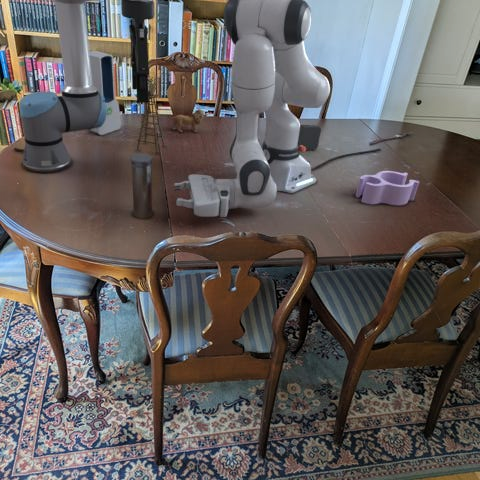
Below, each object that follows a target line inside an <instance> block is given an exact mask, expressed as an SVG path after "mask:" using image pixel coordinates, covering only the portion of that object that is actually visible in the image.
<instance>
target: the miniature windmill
mask: <svg viewBox="0 0 480 480" xmlns="http://www.w3.org/2000/svg"><path fill="white" fill-rule="evenodd" d="M153 70H154V72H155V73H153V74H152V70H151V71H150V70H149V75H148V103H145V107H144V112H143V114H142V121H141V126H140V131H139V133H138V139H137V147H136V151H139V149H140V144H141V143H144V144H147V143H148V144H152V145H155V154H158V153H159V150H158V144H159V143H160V142H161V143H162V147H165V146H166V144H165V141H164V138H165V136H163V132H162V127H161V125H162V124H161V122H160V117H159V112H158V108H157V104H156V103H157V101H156V98H157V97H159V96H160V94H158V93H156V90H157V87H158V84H157V83H158V82H159V81H158V77H157V76H158V70H157V68H155V67H153ZM150 106H151V111H150ZM154 110H155V111H154ZM150 114H151V115H150ZM149 117H150V118H152V122H150V121H149ZM155 117H156V120H157V123H156V122H155ZM148 124H151V125H153V127H148ZM156 125H157V126H156ZM157 129H159V133H160V135H157V133H156V132H157V131H156V130H157ZM148 130H152V131H153V134H149V133H148ZM143 133H144V134H143ZM147 136H150V137H154V142H153V141H147ZM143 138H144V140H142V139H143ZM157 138H160V139H158V141H157Z"/></svg>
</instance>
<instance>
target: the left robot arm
mask: <svg viewBox="0 0 480 480" xmlns="http://www.w3.org/2000/svg"><path fill="white" fill-rule="evenodd" d="M52 1H53V2H54V7H55V16H56V24H57V31H58V37H59V38H58V39H59V45H60V52H61V59H62V60H61V61H62V67H63V76H64V82H65V83H64V86H62V87H61V95H58V94H57V93H56V92H54V91H43V90H41V91H36V92H32V93H28V94H26V95H24V96H23V97H21V99H20V100H19V103H18V104H19V116H20V119H21V125H22V132H23V137H24V148H17V147H14V149H13V150H14V151H16V152H20V153H22V158H21V159H22V160H21V161H22V166H23V168H24V169H25V170H27V171H29V172H33V173H39V174H46V173H56V172H61V171H63V170H66V169H67V168H69V167H70V166H71V163H72V159H71V155H70V153H69V151H68V150H67V149H68V148H67V147H66V145H65V143H64V140H63V134H64V133H71V132H81V131H87V130H88V131H89V130H91V129H94V128H99V127H101V126H102V125H103V124H104V122H105V119H106V112H107V109H106V103H105V99H104V96H103V95H102V94H101V93H99V92H98V88H97V87H96V86H94V85H93V82H92V72H91V62H90V53H89V52H90V45H89V44H90V43H89V36H88V26H87V15H86V6H85V4H86V2H87V0H52ZM120 5H121V6H120V7H121V10H120V11H121V15H122V17H123V18H127V19H129V25H128V29H129V39H130V60H131V81H132V82H131V83H132V84H131V86H132V87H131V88H132V90H136V103H139V104H140V103H141V104H142V103H148V100H149V98H148V91H149V84H148V83H149V82H148V79H149V75H150V65H149V46H148V45H149V42H148V35H149V28H148V27H147V25H146V22H145V20H152V19H153V20H154V18H155V15H156V14H155V2H154V0H120Z"/></svg>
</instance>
